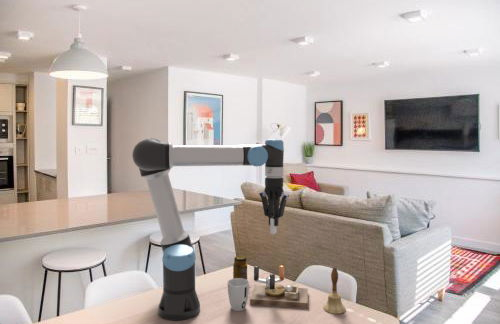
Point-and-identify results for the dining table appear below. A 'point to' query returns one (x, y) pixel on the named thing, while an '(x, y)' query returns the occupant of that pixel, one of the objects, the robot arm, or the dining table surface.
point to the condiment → (240, 267)
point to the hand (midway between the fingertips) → (273, 233)
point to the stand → (280, 297)
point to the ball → (288, 289)
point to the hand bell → (334, 297)
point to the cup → (238, 293)
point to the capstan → (271, 282)
